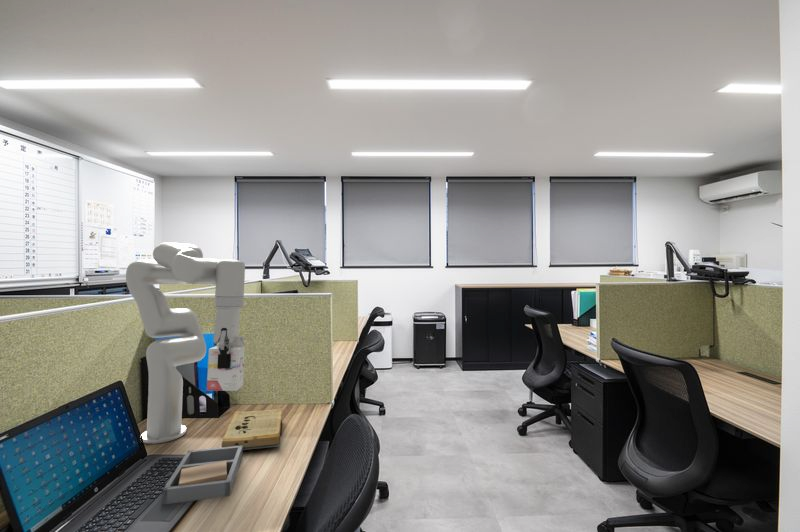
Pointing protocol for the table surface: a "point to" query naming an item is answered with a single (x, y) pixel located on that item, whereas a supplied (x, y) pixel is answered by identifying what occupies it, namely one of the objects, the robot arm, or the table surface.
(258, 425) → the book
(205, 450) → the rack
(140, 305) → the robot arm
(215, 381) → the ink cartridge box
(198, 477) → the offcut top
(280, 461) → the table surface
